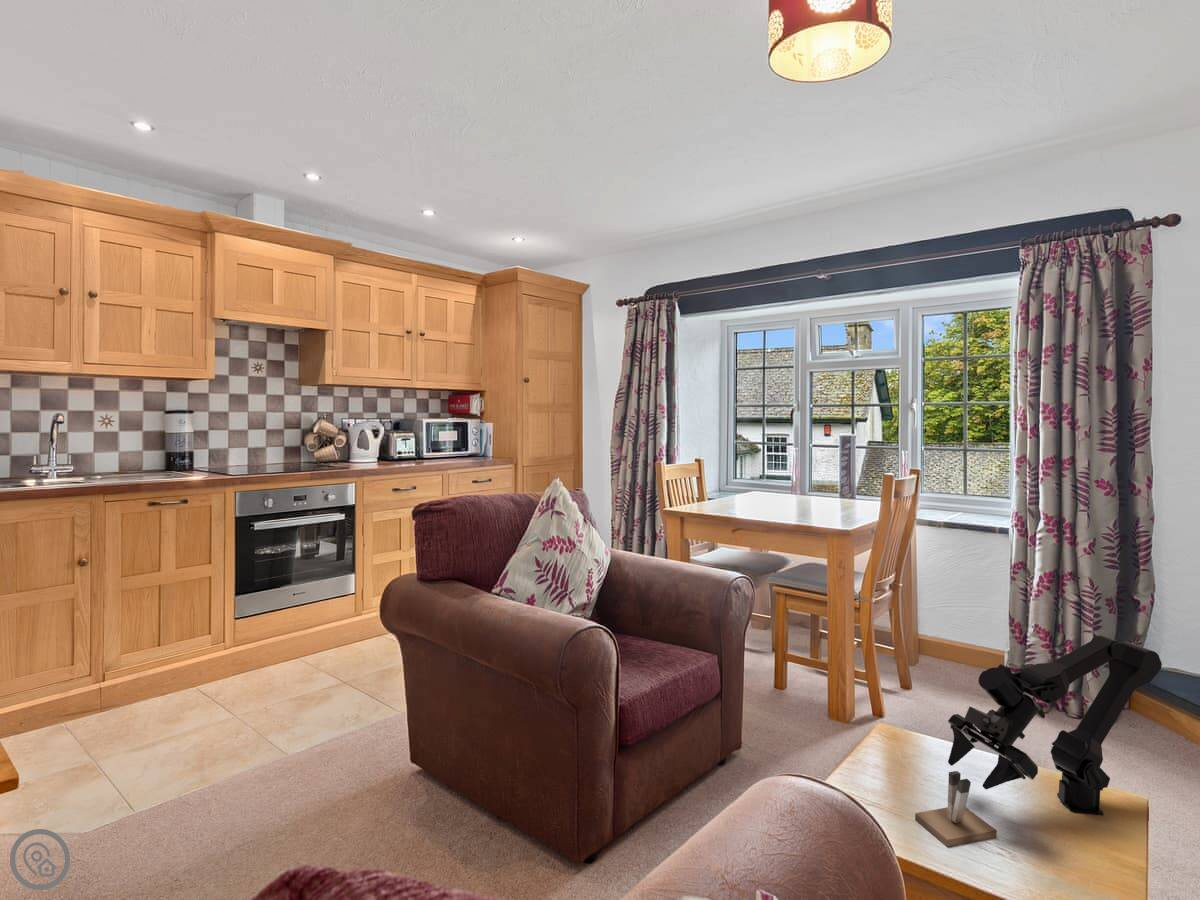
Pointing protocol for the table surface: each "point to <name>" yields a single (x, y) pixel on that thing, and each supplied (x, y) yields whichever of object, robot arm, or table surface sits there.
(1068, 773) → the robot arm
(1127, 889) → the table surface
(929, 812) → the stand
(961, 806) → the arm
